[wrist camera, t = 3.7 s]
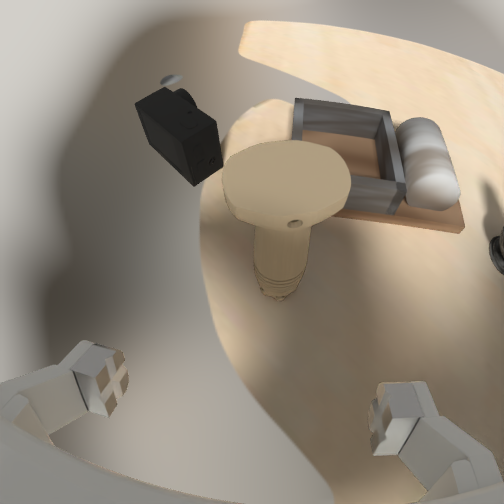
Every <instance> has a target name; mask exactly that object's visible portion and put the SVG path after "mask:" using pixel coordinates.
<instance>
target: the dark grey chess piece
mask: <svg viewBox="0 0 504 504" xmlns="http://www.w3.org/2000/svg"><path fill="white" fill-rule="evenodd" d="M489 251H490V256H491V259H492V262H493V264H494V265H495V267H496V268H497V270H499V271H500V272H501V273H502V274H504V227H503V230H502V233H501V236H496V237H494V238H493V239H492V240H491V242H490V247H489Z"/></svg>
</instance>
